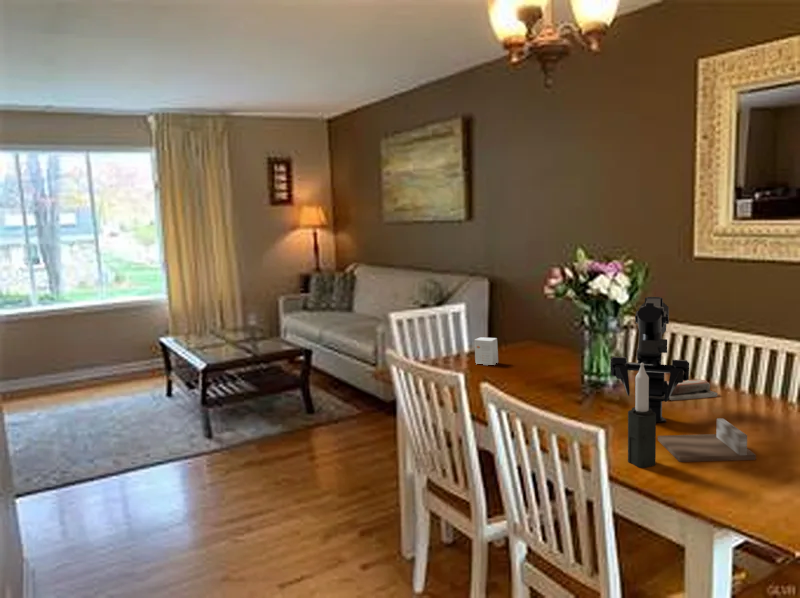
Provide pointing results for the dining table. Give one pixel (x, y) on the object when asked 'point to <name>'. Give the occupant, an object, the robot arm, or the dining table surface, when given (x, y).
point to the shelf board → (710, 445)
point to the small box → (486, 351)
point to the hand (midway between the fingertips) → (647, 396)
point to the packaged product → (692, 390)
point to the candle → (642, 425)
